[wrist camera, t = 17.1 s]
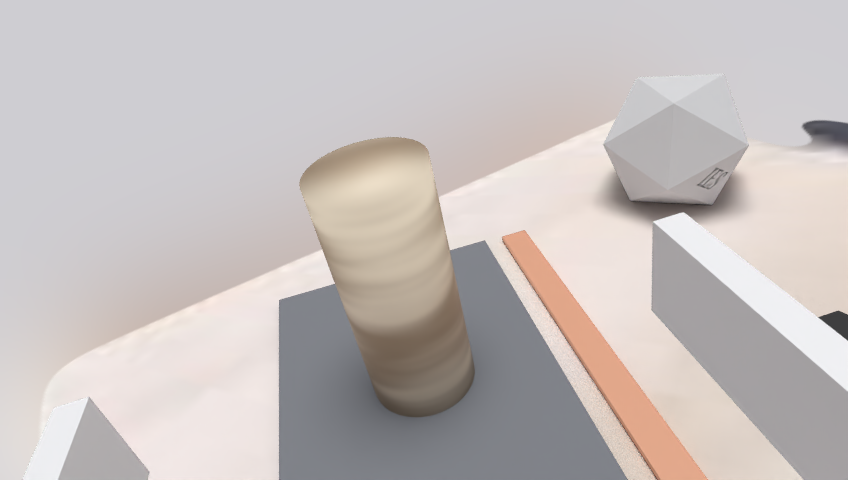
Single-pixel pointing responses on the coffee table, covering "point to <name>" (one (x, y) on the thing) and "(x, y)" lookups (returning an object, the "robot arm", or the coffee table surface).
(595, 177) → the coffee table surface
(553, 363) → the mat
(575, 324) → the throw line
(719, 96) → the die
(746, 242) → the coffee table surface
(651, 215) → the coffee table surface
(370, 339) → the beige banded cylinder
